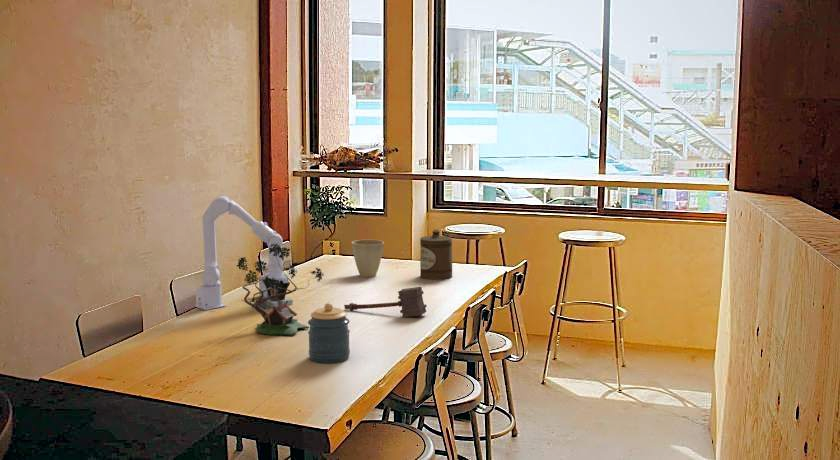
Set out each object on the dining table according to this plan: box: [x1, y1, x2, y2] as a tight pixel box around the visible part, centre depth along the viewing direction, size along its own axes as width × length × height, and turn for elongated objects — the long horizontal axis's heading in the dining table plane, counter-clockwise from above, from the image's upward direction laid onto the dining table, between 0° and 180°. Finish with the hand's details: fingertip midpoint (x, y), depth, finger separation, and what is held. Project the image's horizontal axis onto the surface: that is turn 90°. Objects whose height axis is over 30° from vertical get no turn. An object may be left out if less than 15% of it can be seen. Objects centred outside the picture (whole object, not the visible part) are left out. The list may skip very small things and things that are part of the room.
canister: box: [307, 302, 351, 364], centre depth 268 cm, size 13×13×18 cm
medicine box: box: [258, 274, 280, 298], centre depth 358 cm, size 8×4×9 cm, turn 143°
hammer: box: [344, 286, 428, 318], centre depth 327 cm, size 7×33×10 cm, turn 69°
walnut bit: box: [271, 289, 281, 302], centre depth 341 cm, size 3×3×6 cm
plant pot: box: [351, 239, 385, 278], centre depth 397 cm, size 15×15×16 cm
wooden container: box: [419, 229, 453, 281], centre depth 395 cm, size 15×15×22 cm
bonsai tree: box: [235, 243, 325, 337], centre depth 296 cm, size 35×24×32 cm
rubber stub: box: [258, 297, 268, 311], centre depth 334 cm, size 3×3×4 cm
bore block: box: [267, 297, 294, 309], centre depth 341 cm, size 9×9×2 cm
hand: (276, 297), depth 341 cm, fingers open, 7 cm apart
